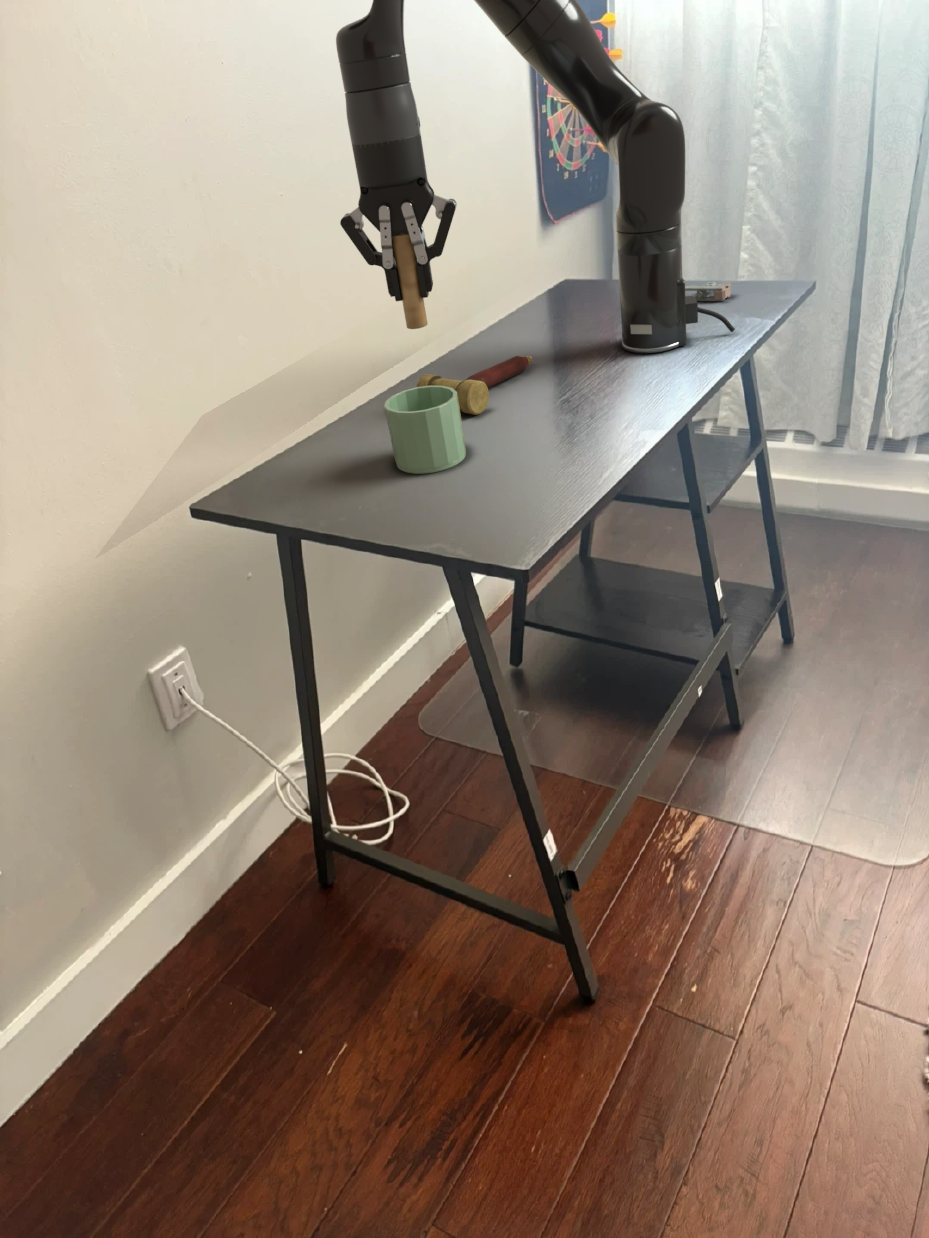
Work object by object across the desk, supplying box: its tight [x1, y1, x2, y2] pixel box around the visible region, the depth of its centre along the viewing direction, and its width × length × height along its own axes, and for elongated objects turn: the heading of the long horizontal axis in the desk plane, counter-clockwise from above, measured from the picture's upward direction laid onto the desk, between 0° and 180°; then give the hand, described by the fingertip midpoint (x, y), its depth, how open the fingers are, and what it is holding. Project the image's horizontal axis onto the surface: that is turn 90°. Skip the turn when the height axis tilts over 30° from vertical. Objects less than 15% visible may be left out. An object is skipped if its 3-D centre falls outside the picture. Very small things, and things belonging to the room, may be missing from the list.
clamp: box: [685, 281, 731, 302], centre depth 164 cm, size 15×2×10 cm
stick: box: [392, 233, 428, 330], centre depth 111 cm, size 2×2×10 cm
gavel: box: [415, 355, 534, 416], centre depth 140 cm, size 21×5×10 cm
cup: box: [383, 386, 467, 475], centre depth 120 cm, size 9×9×8 cm
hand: (412, 297), depth 112 cm, fingers closed on stick, 2 cm apart
